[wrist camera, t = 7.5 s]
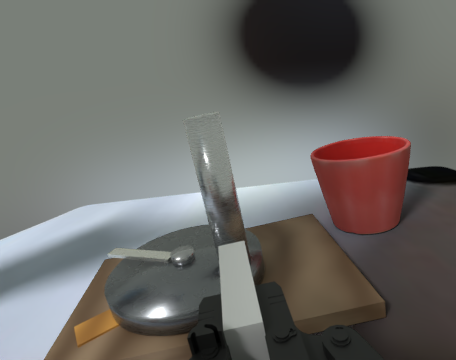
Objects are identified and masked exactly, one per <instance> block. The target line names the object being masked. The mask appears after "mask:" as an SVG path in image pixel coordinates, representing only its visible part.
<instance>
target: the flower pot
mask: <svg viewBox="0 0 456 360" xmlns="http://www.w3.org/2000/svg"><path fill="white" fill-rule="evenodd" d="M410 147H411V143H410V141H409V140H407V139H405V138H400V137H392V136H376V137H362V138H355V139H348V140H343V141H338V142H335V143H331V144H328V145H325V146H322V147H320V148H318V149H316V150H314V151H313V152H312V153H311V160H312V164H313V166H314V170H315V173H316V175H317V178H318V181H319V184H320V187H321V190H322V193H323V196H324V199H325V201H326V204H327V207H328V209H329V212H330V215H331V218H332V220H333V223H334V225H335V226H336V227H337V228H339V229H340V230H342V231H345V232H349V233H351V232H353V233H356V234H375V233H381V232H385V231H388V230H390V229H392V228H394V227H395V226H396V225H397V224H398V223H399V221H400V215H401V210H402V205H403V199H404V193H405V187H406V180H407V173H408V166H409V158H410Z"/></svg>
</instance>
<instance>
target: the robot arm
mask: <svg viewBox="0 0 456 360" xmlns="http://www.w3.org/2000/svg"><path fill="white" fill-rule="evenodd" d="M218 249H219V266H220V284H221V294H218V295H213V296H209V297H204V298H203V299H202V301H201V303H200V304H199V313H198V314H199V315H198V325H197V326H195V327H194V328H192V330H191V331H190V332H189V334H188V337H187V340H188V343H189V347H190V350H191V353H192V357H191V358H190V359H189V360H384V359H383V358H382V357H381V356H380V355H379V354H378V353H377V352H376V351H375V350H374V349H373V348H372V347H371V346H370V345H369V344H368V343H367V342H366V341H365V340H364V339H363V338H362V337H361V336H360V335H359V334H358V333H357V332H356V331H355V330H353V329H352V328H351V327H348V326H345V325H334V326H330V327H328V328H327V329H325V330H324V332H323V334H322V335H311V334H307V333H304V332H302V331H300V330H299V329H298V328H297V327H296V326H295V324H294V321H293V318H292V316H291V313H290V310H289V307H288V305H287V302H286V299H285V296H284V294H283V291H282V288H281V286H280V285H278V284H277V283H276V282H275V281H273V282H269V283H264V284H260V285H255V286H254V281H253V277H252V273H251V268H250V264H249V260H248V255H247V251H246V246H245V242H244V241H240V242H235V243H231V244H226V245H222V246H218Z"/></svg>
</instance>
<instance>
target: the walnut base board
mask: <svg viewBox="0 0 456 360" xmlns="http://www.w3.org/2000/svg"><path fill="white" fill-rule="evenodd" d="M246 230H248V231H250V232H252V233H253V234H254V235H255V236H256V237H257V238H258V240H259V242H260V245H261V249H262V254H263V259H264V264H265V272H264V276H263V279H262V281H261V283H260V284H264V283H269V282H273V281H275V282H276V283H277V284H278V285H280V286H281V288H282V291H283V294H284V296H285V299H286V302H287V305H288V307H289V310H290V313H291V316H292V318H293V321H294V324H295V326H296V327H297V328H298V329H299V330H300V331H302V332H304V333H307V334H312V333H317V332H321V331H324V330H325V329H327V328H328V327H330V326H334V325H345V326H349V325H353V324H358V323H362V322H367V321H371V320H376V319H381V318H385V317H386V311H385V301H384V300H383V299H382V298H381V296H380V295H379V294H378V293H377V292H376V290H375V289H374V288H373V287H372V285H371V284H370V283H369V282H368V281H367V279H366V278H365V277H364V276H363V275H362V273H361V272H360V271H359V270H358V269H357V267H356V266H355V265H354V264H353V263H352V261H351V260H350V259H349V258H348V256H347V255H346V254H345V253H344V252H343V250H342V249H341V248H340V247H339V246H338V244H337V243H336V242H335V241H334V240H333V238H332V237H331V236H330V235H329V234H328V232H327V231H326V230H325V229H324V228H323V226H322V225H321V224H320V223H319V221H318V220H317V219H316V218H315V217H314V215H313V214H309V215H305V216H300V217H296V218H291V219H287V220H282V221H278V222H273V223H269V224H264V225H260V226H255V227H251V228H246ZM122 260H123V258H111V259H106V260H105V261H104V262H103V264H102V265H101V267H100V269H99V270H98V272H97V274H96V275H95V277H94V279H93V280H92V282H91V283H90V285H89V287H88V288H87V290H86V292H85V293H84V295H83V297H82V298H81V300H80V301H79V303H78V305H77V306H76V308H75V310H74V311H73V313H72V314H71V316H70V318H69V319H68V321H67V323H66V324H65V326H64V328H63V329H62V331H61V332H60V334H59V336H58V337H57V339H56V341H55V342H54V344H53V346H52V347H51V349H50V350H49V352H48V354H47V355H46V357H45V359H44V360H189V359H190V358H191V357H192V353H191V350H190V347H189V343H188V340H187V337H188V334H189V332H190V331H189V332H186V333H181V334H176V335H169V336H145V335H139V334H135V333H132V332H129V331H127V330H126V329H124V328H122V327H121V326H120V325H119V324H117V323H116V321H115V320H114V318H113V316H112V313H111V311H110V308H109V305H108V303H107V300H106V297H105V291H104V288H105V284H106V281H107V279H108V277H109V275H110V273H111V272H112V271H113V269H114V268H115V267H116V266H117V265H118V264H119V263H120V262H121V261H122Z"/></svg>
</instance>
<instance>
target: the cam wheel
mask: <svg viewBox="0 0 456 360" xmlns="http://www.w3.org/2000/svg"><path fill="white" fill-rule="evenodd" d="M183 122H184V126H185V130H186V134H187V138H188V142H189V146H190V150H191V154H192V158H193V162H194V166H195V169H196V174H197V178H198V182H199V186H200V190H201V194H202V198H203V202H204V206H205V210H206V214H207V218H208V222H209V225H201V226H195V227H190V228H186V229H182V230H178V231H175V232H172V233H169V234H166V235H164V236H161V237H159V238H156V239H154V240H152V241H150V242H148V243H146V244H145V245H143V246H141V247H139V248H138V249H125V248H115V249H114V250H112V251H111V252H110V253H108V254H107V255H108V257H112V258H123V260H122V261H121V262H120V263H119V264H118V265H117V266H116V267H115V268H114V269H113V271H112V272H111V273H110V275H109V277H108V279H107V281H106V284H105V288H104V291H105V297H106V300H107V303H108V305H109V308H110V311H111V313H112V316H113V318H114V320H115V321H116V323H117V324H119V325H120V326H121V327H122V328H124V329H126V330H127V331H129V332H132V333H135V334H139V335H145V336H169V335H176V334H181V333H186V332H189V331H191V330H192V328H194V327H195V326H197V325H198V315H199V314H198V313H199V304H200V303H201V301H202V299H203V298H204V297H209V296H213V295H218V294H221V284H220V266H219V249H218V246H222V245H226V244H231V243H235V242H240V241H244V242H245V246H246V251H247V255H248V260H249V264H250V268H251V273H252V277H253V281H254V286H255V285H260V283H261V281H262V279H263V276H264V272H265V264H264V259H263V254H262V249H261V245H260V242H259V240H258V238H257V237H256V236H255V235H254V234H253V233H252V232H250V231H248V230H246V229H244V224H243V220H242V215H241V210H240V206H239V201H238V197H237V192H236V187H235V183H234V178H233V174H232V169H231V164H230V160H229V156H228V151H227V146H226V142H225V137H224V132H223V128H222V123H221V119H220V114H219V112H213V113H207V114H203V115H198V116H194V117H190V118H187V119H184V120H183Z"/></svg>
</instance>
